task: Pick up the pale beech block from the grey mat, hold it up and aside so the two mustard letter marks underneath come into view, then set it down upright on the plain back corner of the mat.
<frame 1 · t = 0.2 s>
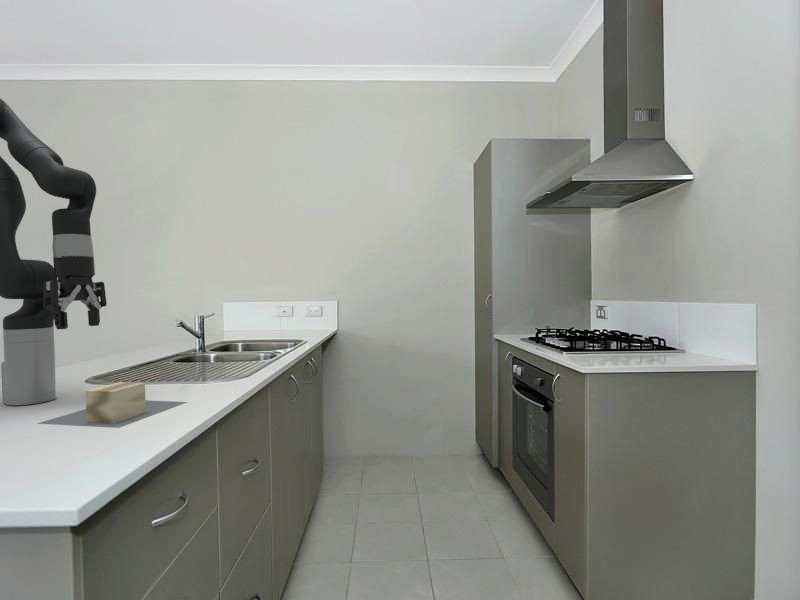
hand: (78, 327, 103), 17 cm above the countertop, fingers open, 8 cm apart
beech block: (117, 417, 89), point 1 cm above the countertop, touching grey mat
grey mat: (118, 414, 93), on the countertop
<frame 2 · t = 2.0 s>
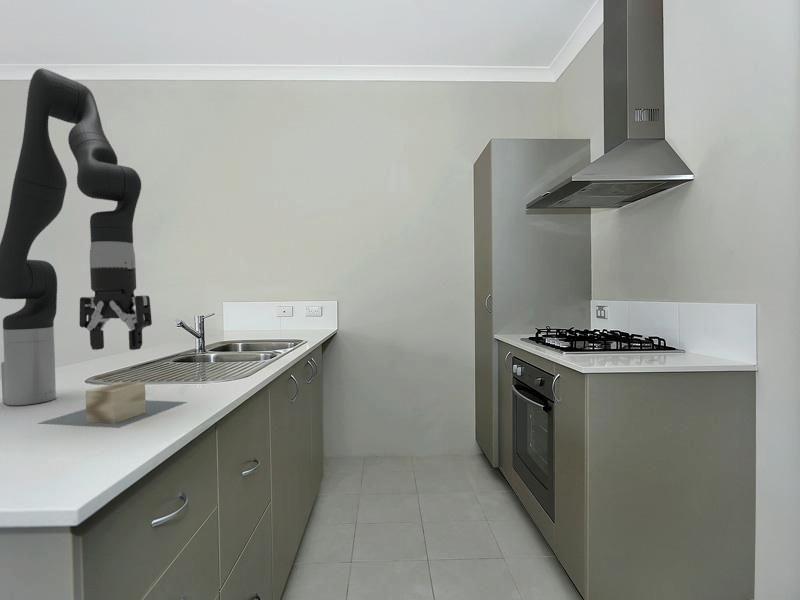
hand: (116, 349, 89), 14 cm above the countertop, fingers open, 8 cm apart
nothing on the countertop moved.
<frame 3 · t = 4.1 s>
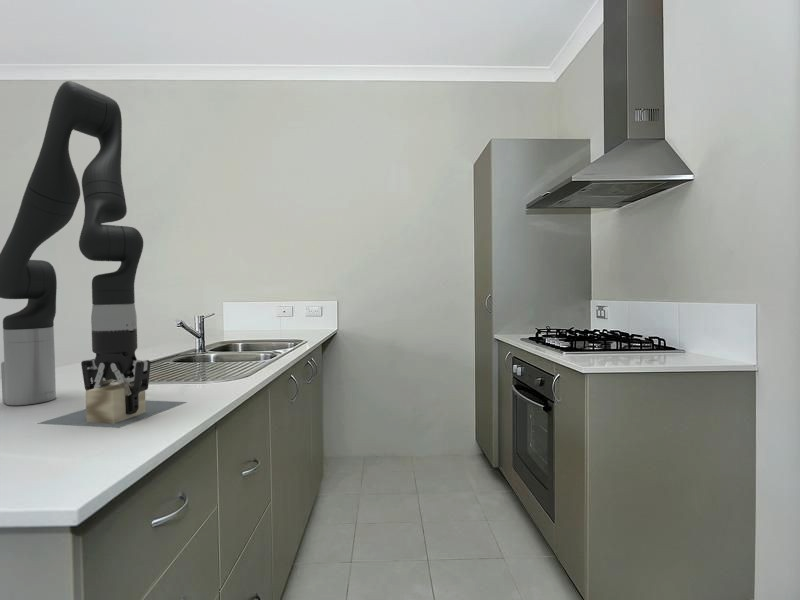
hand: (117, 412, 89), 1 cm above the countertop, fingers closed on beech block, 6 cm apart
beech block: (117, 417, 89), point 1 cm above the countertop, touching grey mat, gripper
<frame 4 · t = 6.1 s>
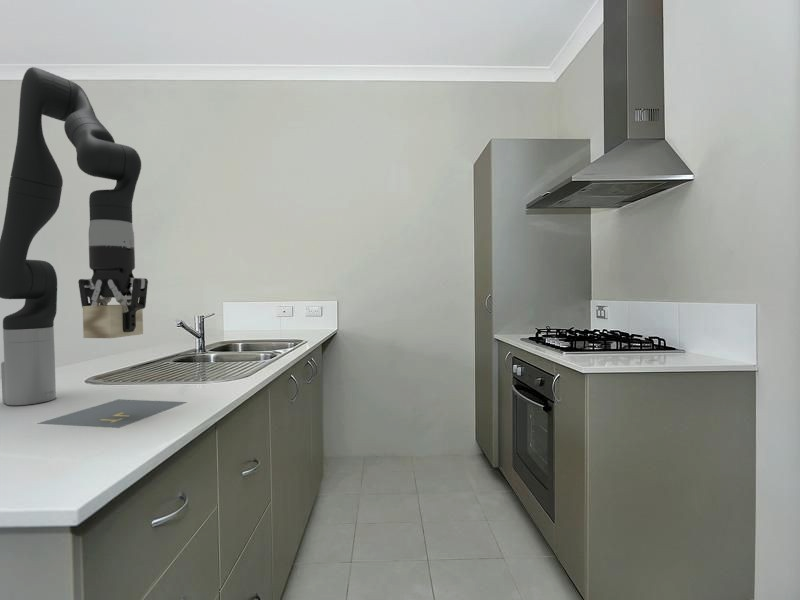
hand: (114, 331, 89), 17 cm above the countertop, fingers closed on beech block, 6 cm apart
beech block: (114, 335, 89), point 16 cm above the countertop, touching gripper
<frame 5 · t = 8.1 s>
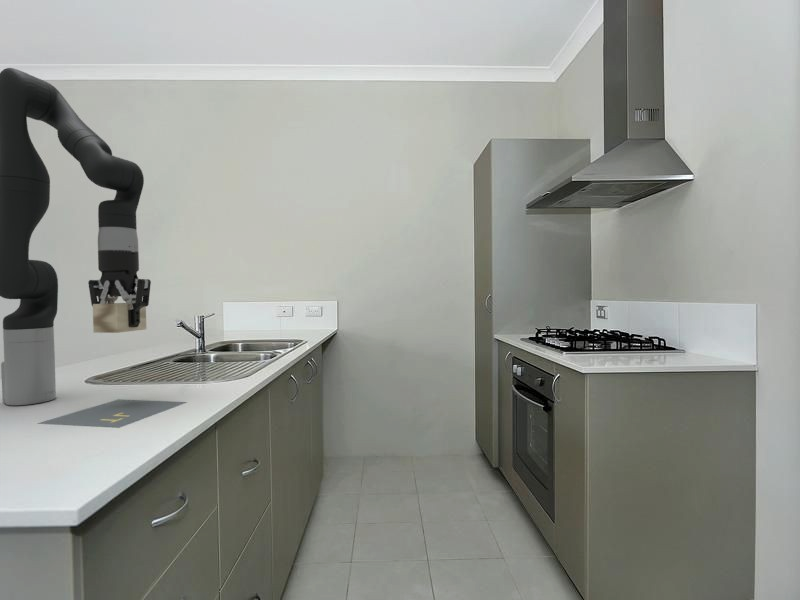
hand: (120, 326, 99), 18 cm above the countertop, fingers closed on beech block, 6 cm apart
beech block: (120, 330, 99), point 17 cm above the countertop, touching gripper
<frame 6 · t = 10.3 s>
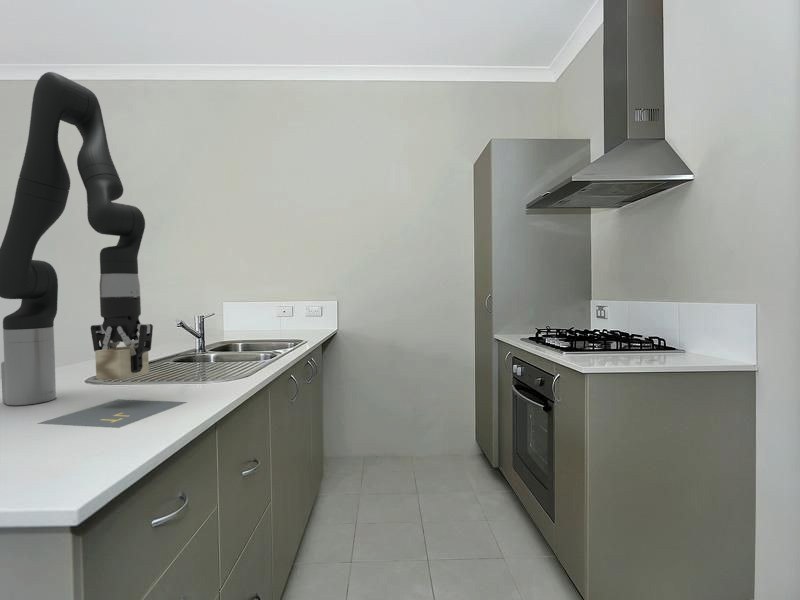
hand: (123, 371, 100), 8 cm above the countertop, fingers closed on beech block, 6 cm apart
beech block: (123, 375, 100), point 7 cm above the countertop, touching gripper
when the fingers open (3 cm above the countertop, at t = 12.2 s): beech block drops 2 cm, resting on grey mat.
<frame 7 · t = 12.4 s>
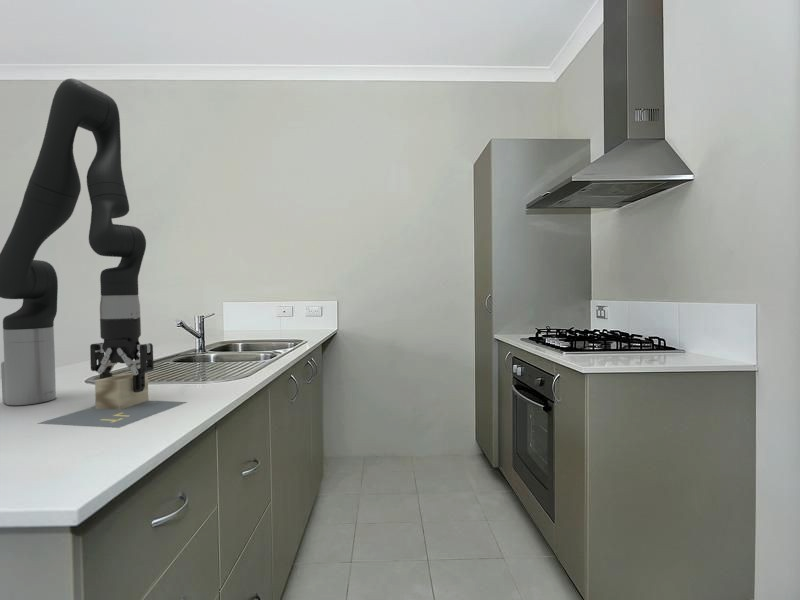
hand: (122, 391, 100), 3 cm above the countertop, fingers open, 7 cm apart
beech block: (122, 404, 100), resting on grey mat
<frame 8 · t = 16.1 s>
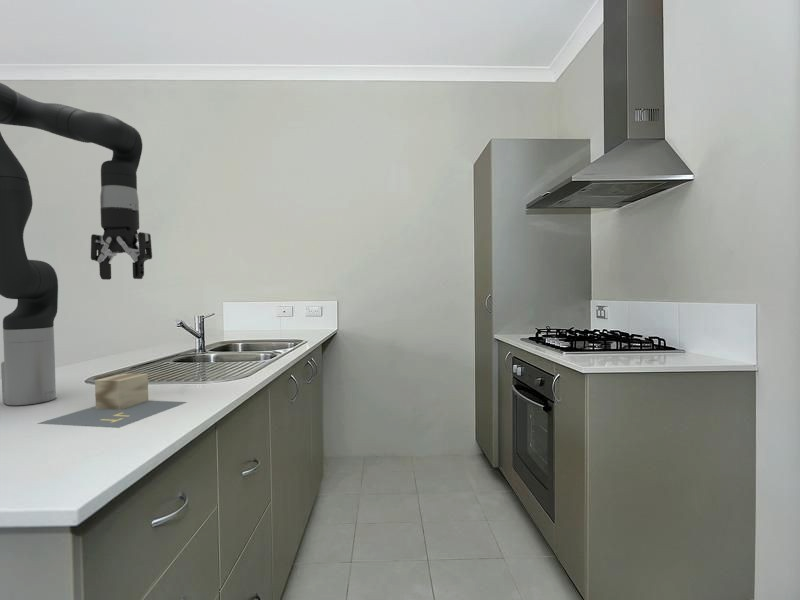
hand: (122, 279, 105), 28 cm above the countertop, fingers open, 8 cm apart
nothing on the countertop moved.
at the end: beech block inside the target area (0.1 cm from its centre), point 0.5 cm above the countertop; beech block tilted 0°; the gripper is holding nothing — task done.
